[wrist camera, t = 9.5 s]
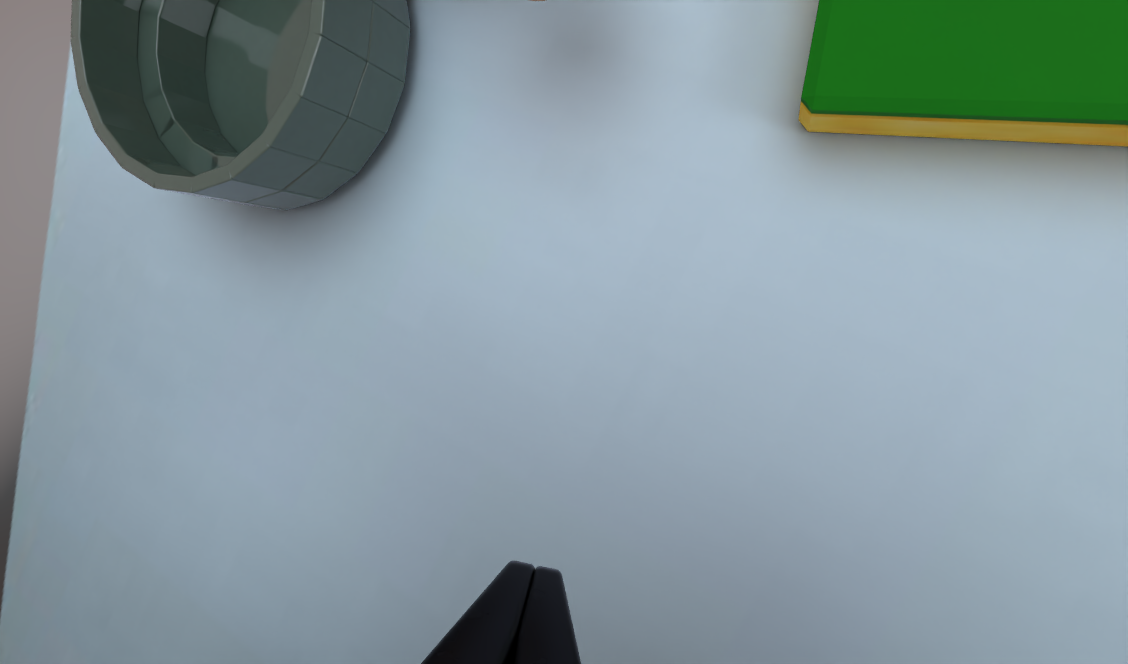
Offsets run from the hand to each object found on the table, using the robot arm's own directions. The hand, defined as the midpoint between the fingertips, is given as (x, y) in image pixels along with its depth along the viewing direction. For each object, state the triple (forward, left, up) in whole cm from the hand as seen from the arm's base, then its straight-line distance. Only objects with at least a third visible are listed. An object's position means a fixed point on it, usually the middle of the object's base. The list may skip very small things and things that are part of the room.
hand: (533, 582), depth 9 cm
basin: (+23, +1, -11) cm, 25 cm away
